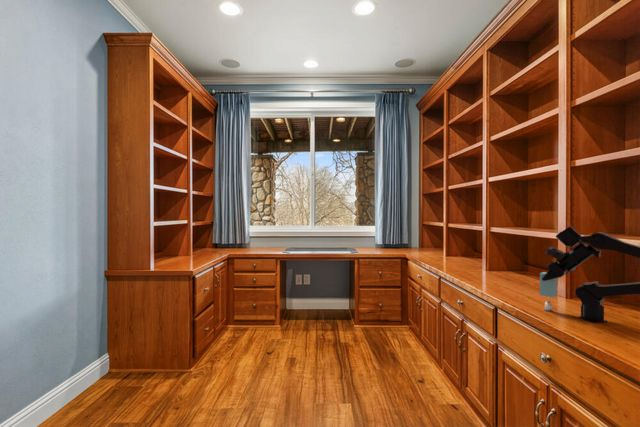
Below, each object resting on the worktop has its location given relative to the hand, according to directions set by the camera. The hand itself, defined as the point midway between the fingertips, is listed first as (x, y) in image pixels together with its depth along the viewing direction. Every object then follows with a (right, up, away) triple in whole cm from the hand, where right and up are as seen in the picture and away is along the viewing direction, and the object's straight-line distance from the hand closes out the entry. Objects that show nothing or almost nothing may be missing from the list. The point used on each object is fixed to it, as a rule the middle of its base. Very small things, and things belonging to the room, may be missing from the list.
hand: (544, 279), depth 138 cm
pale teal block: (+1, -7, -1) cm, 7 cm away
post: (+1, -13, -1) cm, 13 cm away
